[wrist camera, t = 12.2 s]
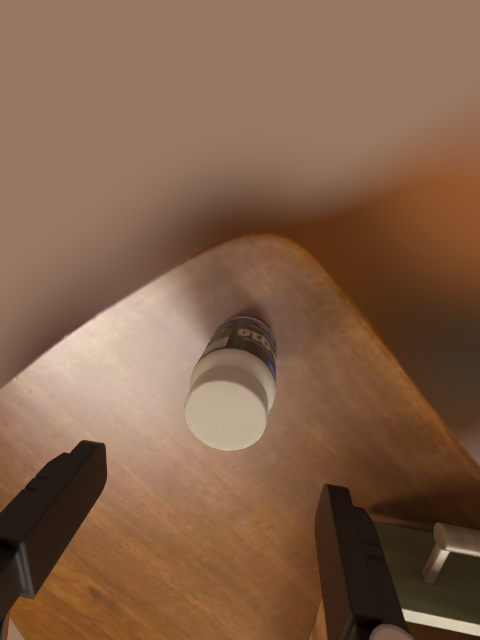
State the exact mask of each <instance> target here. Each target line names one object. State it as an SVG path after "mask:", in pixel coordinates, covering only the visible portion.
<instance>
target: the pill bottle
mask: <svg viewBox="0 0 480 640" xmlns="http://www.w3.org/2000/svg"><path fill="white" fill-rule="evenodd" d="M276 356H277V347H276V341H275V338H274V336H273V334H272V332H271V331H270V329H269V328H268V327H267V326H266V325H265V324H264V323H262V322H261V321H259V320H257V319H255V318H252V317H245V316H239V317H234V318H231V319H229V320H227V321H225V322H224V323H222V324H221V325H220V326H219V327H218V329H217V330H216V331H215V333H214V335H213V337H212V338H211V340H210V342H209V343H208V345H207V347H206V349H205V351H204V352H203V354H202V356H201V357H200V359H199V361H198V363H197V364H196V366H195V368H194V370H193V372H192V375H191V380H190V392H189V394H188V396H187V398H186V401H185V405H184V415H185V420H186V423H187V425H188V427H189V429H190V430H191V432H192V433H193V434H194V435H195V436H196V437H197V438H198V439H199V440H200V441H202V442H203V443H205V444H207V445H209V446H211V447H214V448H217V449H221V450H230V451H232V450H239V449H243V448H246V447H248V446H250V445H252V444H253V443H255V442H256V441H257V440H258V439H259V438H260V437H261V435H262V434H263V432H264V430H265V427H266V423H267V416H268V412H269V411H270V409H271V407H272V405H273V403H274V399H275V393H276Z"/></svg>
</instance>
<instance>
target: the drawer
mask: <svg viewBox="0 0 480 640" xmlns="http://www.w3.org/2000/svg"><path fill="white" fill-rule="evenodd" d="M373 523H374V524H375V527H376V530H377V533H378V537H379V540H380V545H381V546H382V549H383V552H384V555H385V561H386V562H387V565H388V568H389V571H390V574H391V577H392V580H393V583H394V587H395V590H396V593H397V596H398V599H399V602H400V605H401V608H402V612H403V615H404V618H405V621H406V624H407V626H408V629H409V631H410V633H411V635H412V637H413V638H414V639H415V640H480V530H477V529H472V528H466V527H461V526H455V525H450V524H444V523H439V522H438V523H436V524H435V525H434V530H433V532H434V533H431V532H426V531H420V530H415V529H409V528H404V527H399V526H393V525H388V524H382V523H377V522H373Z"/></svg>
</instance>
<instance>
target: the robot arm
mask: <svg viewBox="0 0 480 640" xmlns="http://www.w3.org/2000/svg"><path fill="white" fill-rule="evenodd" d="M106 479H107V463H106V447H105V444H104V443H99V442H93V441H88V440H82V441H81V442H80V443H79V444H78V445H77V446H76V447H75V448H74V449H73V450H72V451H71V452H70V454H69V453H62V454H61V455H59V456H58V457H56V458H54V459H53V460H51V461H50V462H48V463H47V464H46V465H45V466H44V467H43V468H42V469H41V470H40V472H39V473H38V474H37V475H36V477H35V478H33V479H32V480H31V481H30V482H29V483H28V484H27V485H26V486H25V489H22V491H21V492H20V493H19V494H18V495H17V496H16V497H15V498H14V499H13V500H12V501H11V502H10V503H9V504H8V505H7V506H6V507H5V509H4V510H3V511H2V512H1V513H0V640H7V635H8V625H9V610H10V609H11V607H12V606H13V604H14V603H15V602H16V600H17V599H18V597H19V596H20V597H25V598H29V599H33V598H34V597H35V595H36V594H37V592H38V591H39V589H40V588H41V586H42V584H43V583H44V581H45V580H46V578H47V577H48V575H49V574H50V572H51V570H52V569H53V567H54V566H55V564H56V563H57V561H58V560H59V558H60V557H61V555H62V553H63V552H64V550H65V549H66V547H67V546H68V544H69V543H70V541H71V539H72V538H73V536H74V535H75V533H76V532H77V530H78V529H79V527H80V525H81V524H82V522H83V521H84V519H85V518H86V516H87V515H88V513H89V512H90V510H91V508H92V507H93V505H94V504H95V502H96V501H97V499H98V498H99V496H100V494H101V493H102V491H103V489H104V486H105V483H106ZM315 539H316V547H317V555H318V564H319V572H320V580H321V589H322V597H323V605H324V614H325V622H326V630H327V639H328V640H415V639H414V638H413V637H412V635H411V633H410V631H409V629H408V626H407V624H406V621H405V618H404V615H403V612H402V608H401V605H400V602H399V599H398V596H397V593H396V590H395V587H394V583H393V580H392V577H391V574H390V571H389V568H388V565H387V562H386V561H385V555H384V552H383V549H382V546H381V545H380V540H379V537H378V533H377V530H376V527H375V524H374V523H373V521H372V520H371V518H370V517H369V516H368V514H367V513H366V511H365V510H364V508H360V507H355V506H353V504H352V500H351V497H350V493H349V490H348V488H347V487H342V486H336V485H330V484H324V486H323V489H322V493H321V497H320V501H319V504H318V508H317V512H316V517H315Z"/></svg>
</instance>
